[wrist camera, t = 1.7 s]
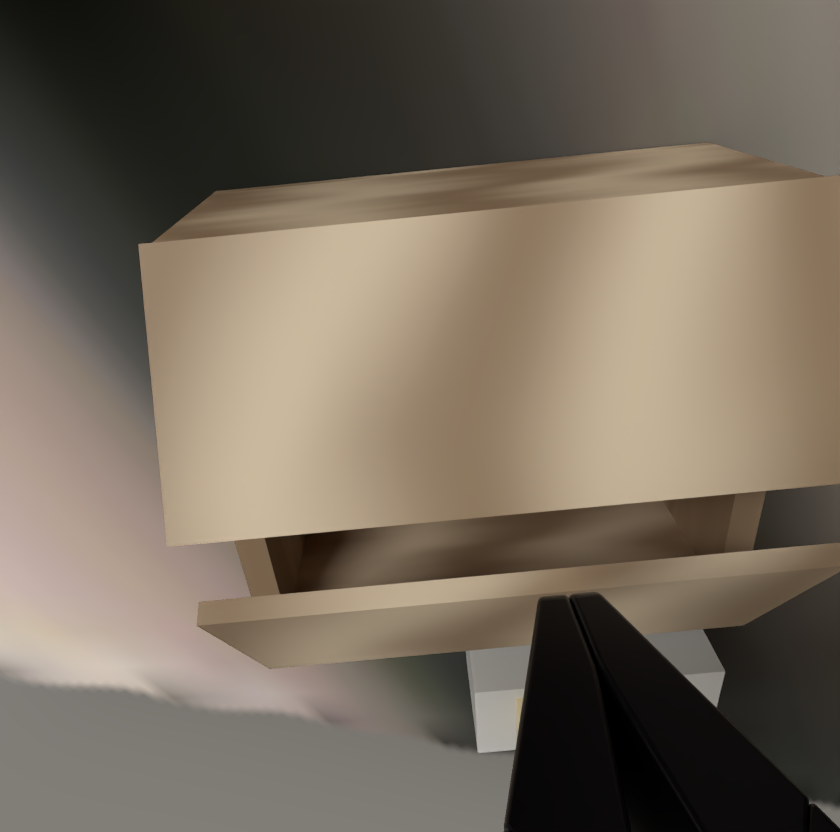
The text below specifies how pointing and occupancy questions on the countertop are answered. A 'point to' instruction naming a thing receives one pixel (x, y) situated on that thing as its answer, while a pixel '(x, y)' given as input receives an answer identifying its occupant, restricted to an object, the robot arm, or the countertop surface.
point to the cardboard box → (508, 534)
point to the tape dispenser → (507, 669)
